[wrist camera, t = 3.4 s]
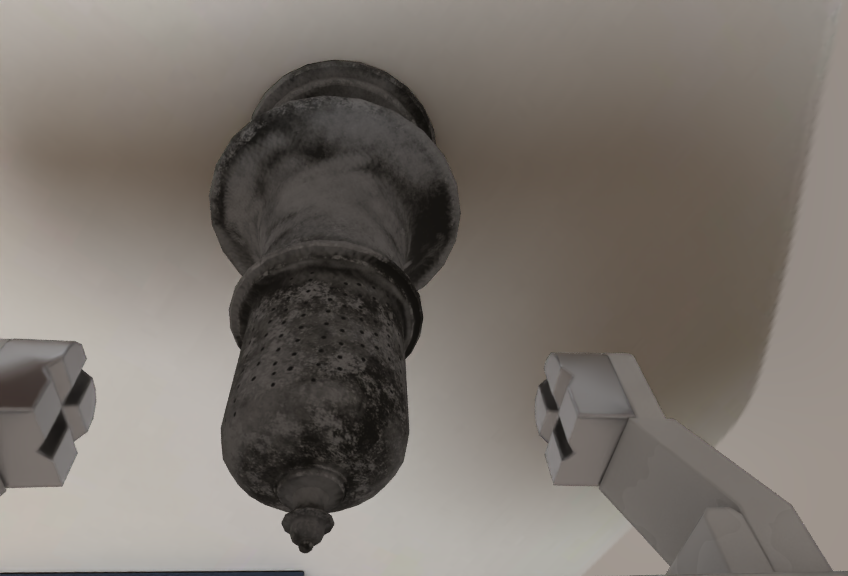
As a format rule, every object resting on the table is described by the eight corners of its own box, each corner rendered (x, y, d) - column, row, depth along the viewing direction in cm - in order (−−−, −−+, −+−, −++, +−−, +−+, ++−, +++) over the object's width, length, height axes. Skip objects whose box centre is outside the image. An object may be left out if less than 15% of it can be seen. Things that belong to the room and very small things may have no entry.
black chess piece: (190, 124, 17) (-55, 523, 7) (372, 1, 15) (368, 302, 6) (321, 273, 20) (271, 688, 10) (483, 183, 18) (599, 574, 9)
